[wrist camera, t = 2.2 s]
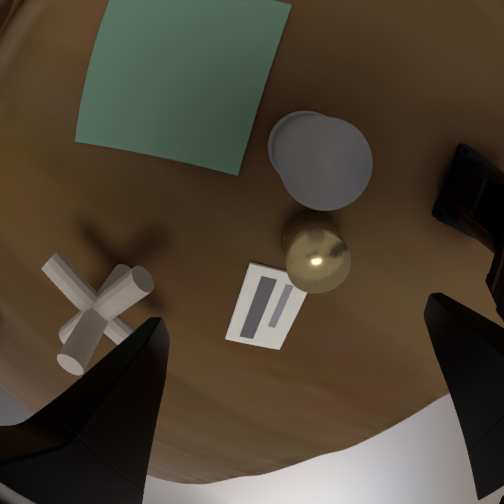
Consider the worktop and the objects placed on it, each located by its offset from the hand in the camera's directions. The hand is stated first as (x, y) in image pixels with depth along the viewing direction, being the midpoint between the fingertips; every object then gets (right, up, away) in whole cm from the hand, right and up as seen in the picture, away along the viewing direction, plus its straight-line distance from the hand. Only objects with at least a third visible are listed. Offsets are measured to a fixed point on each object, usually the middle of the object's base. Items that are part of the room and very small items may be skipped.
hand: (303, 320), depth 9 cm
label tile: (0, -3, +15) cm, 15 cm away
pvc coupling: (+2, +9, +9) cm, 13 cm away
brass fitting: (+2, +3, +12) cm, 13 cm away
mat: (-7, +14, +6) cm, 16 cm away
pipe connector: (-12, 0, +14) cm, 18 cm away
